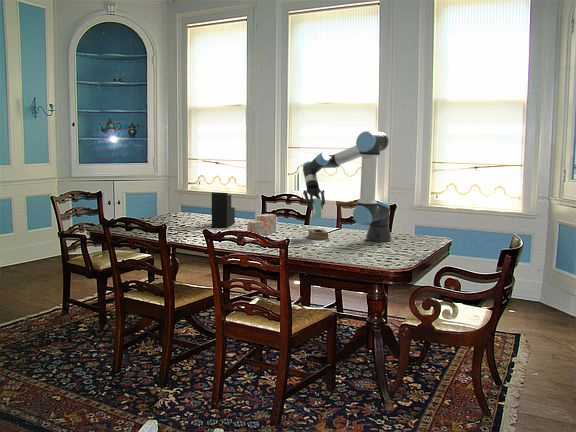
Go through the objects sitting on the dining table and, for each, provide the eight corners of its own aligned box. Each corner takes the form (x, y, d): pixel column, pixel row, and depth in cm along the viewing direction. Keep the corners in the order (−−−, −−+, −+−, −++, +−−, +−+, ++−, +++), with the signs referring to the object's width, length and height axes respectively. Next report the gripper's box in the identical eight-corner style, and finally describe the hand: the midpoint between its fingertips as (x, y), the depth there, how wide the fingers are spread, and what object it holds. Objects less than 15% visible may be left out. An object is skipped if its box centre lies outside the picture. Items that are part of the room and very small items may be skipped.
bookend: (220, 222, 411) (220, 189, 408) (235, 223, 409) (235, 190, 406) (211, 227, 388) (211, 192, 385) (227, 228, 386) (227, 193, 383)
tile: (311, 216, 354) (312, 198, 353) (317, 216, 355) (317, 198, 354) (315, 218, 347) (315, 199, 345) (320, 218, 347) (321, 199, 346)
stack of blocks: (255, 237, 353) (255, 217, 351) (247, 236, 357) (247, 216, 355) (275, 233, 371) (276, 214, 369) (268, 232, 374) (268, 213, 372)
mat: (289, 239, 348) (289, 239, 348) (309, 239, 350) (309, 238, 350) (294, 244, 333) (294, 243, 333) (315, 244, 335) (315, 243, 335)
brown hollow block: (307, 236, 360) (308, 229, 360) (323, 236, 362) (323, 229, 361) (312, 240, 347) (312, 232, 347) (328, 240, 349) (329, 232, 349)
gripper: (323, 187, 365) (330, 217, 351) (297, 187, 362) (303, 217, 348) (326, 179, 359) (332, 209, 345) (299, 179, 356) (305, 210, 342)
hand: (318, 213), depth 347 cm, fingers closed on tile, 3 cm apart
